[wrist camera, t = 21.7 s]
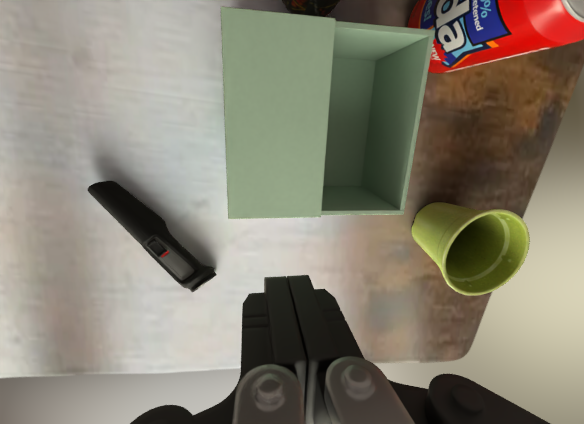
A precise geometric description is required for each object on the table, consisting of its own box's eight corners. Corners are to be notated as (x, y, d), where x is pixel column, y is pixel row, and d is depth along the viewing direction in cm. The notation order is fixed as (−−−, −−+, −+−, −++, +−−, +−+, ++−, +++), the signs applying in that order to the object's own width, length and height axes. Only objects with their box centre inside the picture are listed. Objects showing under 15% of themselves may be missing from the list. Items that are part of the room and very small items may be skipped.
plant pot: (450, 173, 34) (513, 190, 26) (477, 229, 37) (541, 260, 29) (386, 218, 35) (427, 249, 26) (418, 269, 38) (464, 311, 30)
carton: (234, 188, 31) (228, 216, 22) (230, 46, 26) (220, 9, 18) (362, 188, 33) (403, 214, 24) (378, 57, 29) (435, 29, 20)
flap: (228, 217, 22) (228, 219, 21) (221, 8, 17) (220, 6, 17) (319, 215, 23) (320, 217, 22) (333, 19, 18) (335, 18, 18)
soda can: (460, 80, 30) (640, 47, 16) (393, 68, 29) (528, 22, 15) (483, -5, 28) (717, -128, 14) (413, -22, 27) (593, -177, 13)
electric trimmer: (119, 168, 29) (104, 173, 26) (219, 271, 34) (216, 285, 31) (92, 190, 29) (73, 198, 26) (195, 288, 34) (189, 305, 31)
